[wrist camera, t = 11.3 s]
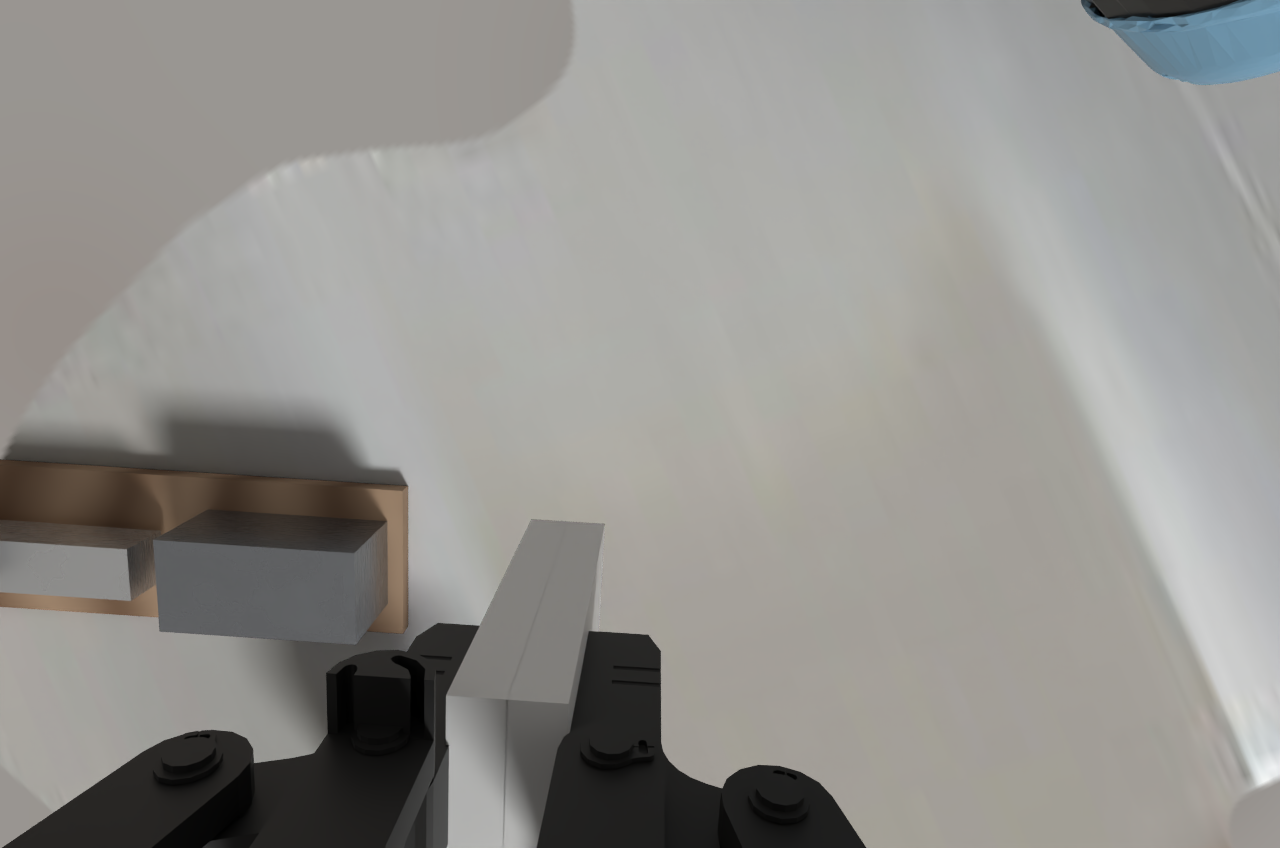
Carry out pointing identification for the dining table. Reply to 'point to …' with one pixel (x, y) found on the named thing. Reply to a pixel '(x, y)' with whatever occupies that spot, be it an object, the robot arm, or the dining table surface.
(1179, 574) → the dining table surface
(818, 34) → the dining table surface
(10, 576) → the grey angled block
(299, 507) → the board
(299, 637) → the grey rectangular box
